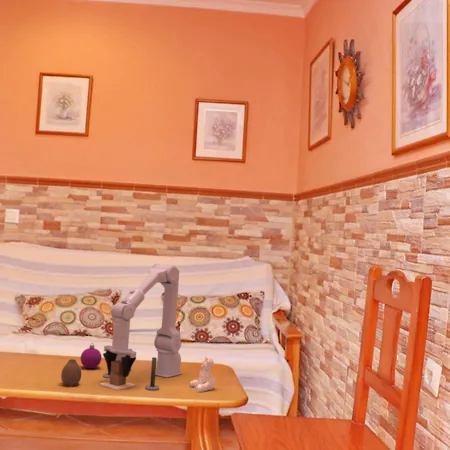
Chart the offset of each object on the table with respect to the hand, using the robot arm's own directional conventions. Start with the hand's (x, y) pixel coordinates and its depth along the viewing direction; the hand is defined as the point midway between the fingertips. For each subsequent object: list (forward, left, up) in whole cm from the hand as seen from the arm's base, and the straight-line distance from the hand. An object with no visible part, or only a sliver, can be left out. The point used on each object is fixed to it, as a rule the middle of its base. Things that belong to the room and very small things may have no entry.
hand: (118, 374), depth 202 cm
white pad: (0, 0, -4) cm, 4 cm away
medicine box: (-16, -14, -4) cm, 22 cm away
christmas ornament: (-10, -26, -4) cm, 28 cm away
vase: (+12, -11, -4) cm, 17 cm away
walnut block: (0, 0, -3) cm, 3 cm away
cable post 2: (-6, +11, -4) cm, 13 cm away
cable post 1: (-6, -11, -4) cm, 13 cm away
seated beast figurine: (-21, +23, -4) cm, 31 cm away
